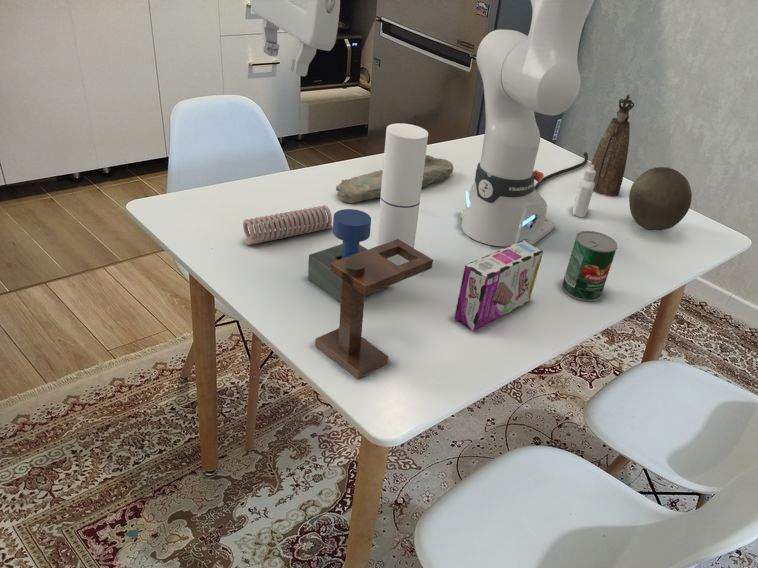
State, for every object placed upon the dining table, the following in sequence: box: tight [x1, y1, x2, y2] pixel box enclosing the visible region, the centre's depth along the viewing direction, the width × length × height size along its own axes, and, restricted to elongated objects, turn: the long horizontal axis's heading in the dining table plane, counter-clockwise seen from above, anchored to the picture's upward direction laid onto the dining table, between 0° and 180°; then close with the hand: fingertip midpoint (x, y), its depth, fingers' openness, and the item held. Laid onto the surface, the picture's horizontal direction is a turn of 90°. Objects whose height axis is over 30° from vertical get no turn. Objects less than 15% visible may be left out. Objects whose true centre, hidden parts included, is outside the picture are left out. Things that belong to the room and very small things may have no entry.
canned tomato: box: [561, 230, 618, 302], centre depth 125 cm, size 8×8×11 cm
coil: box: [242, 204, 333, 246], centre depth 126 cm, size 5×5×18 cm
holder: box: [307, 243, 389, 303], centre depth 115 cm, size 10×10×5 cm
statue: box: [589, 94, 635, 197], centre depth 166 cm, size 9×8×25 cm
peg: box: [332, 208, 372, 258], centre depth 113 cm, size 6×6×13 cm
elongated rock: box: [335, 154, 454, 204], centre depth 153 cm, size 35×5×10 cm
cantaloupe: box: [628, 166, 693, 232], centre depth 152 cm, size 14×14×15 cm
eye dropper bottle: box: [572, 164, 596, 218], centre depth 155 cm, size 4×6×12 cm
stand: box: [314, 239, 434, 380], centre depth 99 cm, size 15×10×16 cm
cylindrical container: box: [375, 122, 429, 266], centre depth 119 cm, size 7×7×25 cm
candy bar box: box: [454, 240, 544, 332], centre depth 114 cm, size 11×5×16 cm
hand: (283, 64), depth 95 cm, fingers open, 8 cm apart
